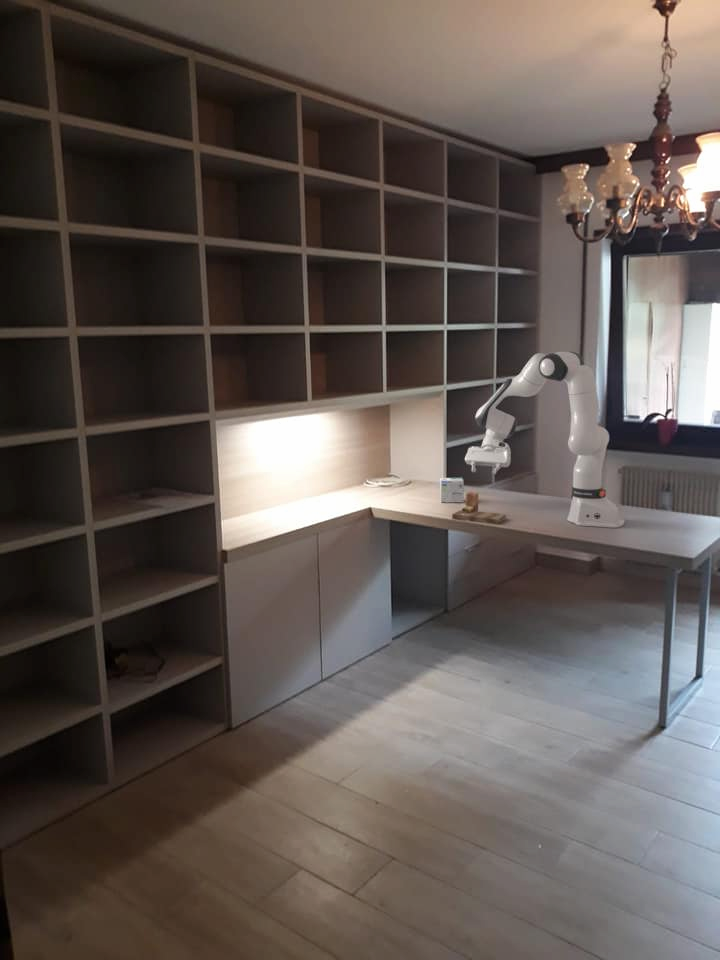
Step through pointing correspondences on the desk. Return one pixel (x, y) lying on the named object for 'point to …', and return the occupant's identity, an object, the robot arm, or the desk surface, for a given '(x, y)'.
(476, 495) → the brown l-shaped block
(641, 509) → the desk surface
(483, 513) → the plank
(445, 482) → the light bulb box
